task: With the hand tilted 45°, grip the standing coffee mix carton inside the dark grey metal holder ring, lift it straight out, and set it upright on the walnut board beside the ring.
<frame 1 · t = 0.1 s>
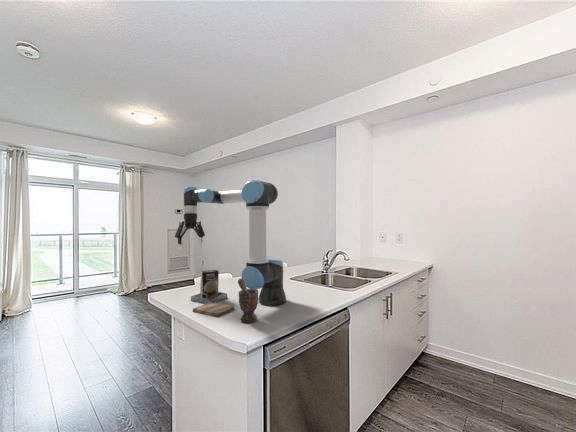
hand: (190, 248, 160), 28 cm above the table, tool pointing down, fingers open, 13 cm apart
coffee box: (209, 299, 152), resting in holder ring
walnut board: (213, 310, 133), on the table
mortar and pestle: (247, 322, 118), on the table
holder ring: (209, 299, 152), on the table
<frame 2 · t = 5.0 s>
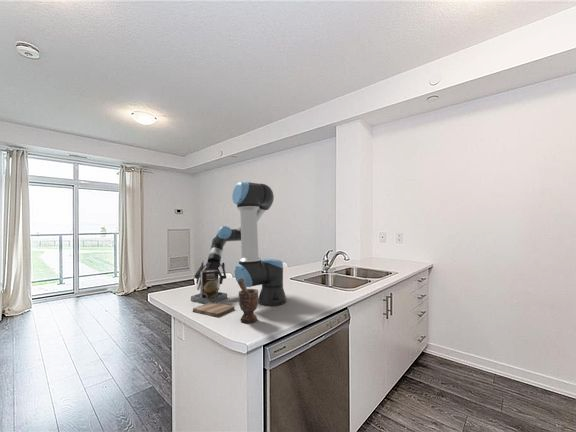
hand: (207, 288, 150), 7 cm above the table, tool tilted 45°, fingers closed on coffee box, 10 cm apart
coffee box: (209, 299, 152), resting in holder ring, touching gripper
everything else where it was.
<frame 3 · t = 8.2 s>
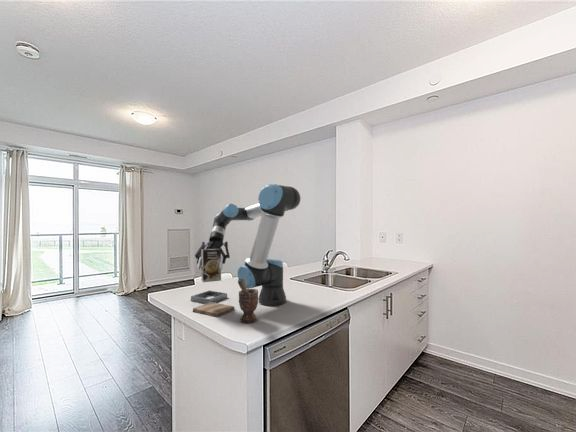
hand: (209, 268, 135), 20 cm above the table, tool tilted 45°, fingers closed on coffee box, 10 cm apart
coffee box: (211, 280, 138), point 14 cm above the table, touching gripper
everything else where it was.
when the fingers open (10 cm above the table, at t = 11.6 s): coffee box drops 1 cm, resting on walnut board.
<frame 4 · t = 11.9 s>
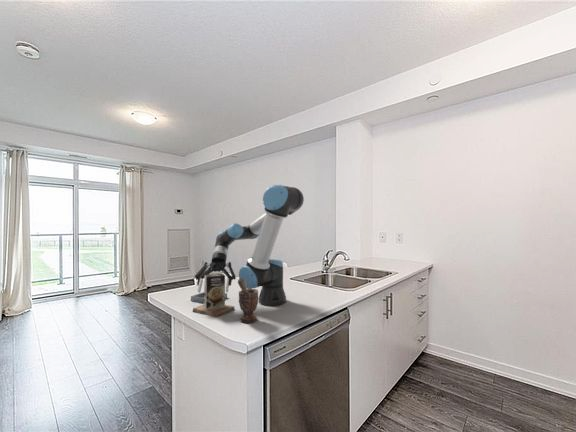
hand: (212, 291, 131), 10 cm above the table, tool tilted 45°, fingers open, 13 cm apart
coffee box: (214, 307, 133), point 1 cm above the table, touching walnut board
everything else where it was.
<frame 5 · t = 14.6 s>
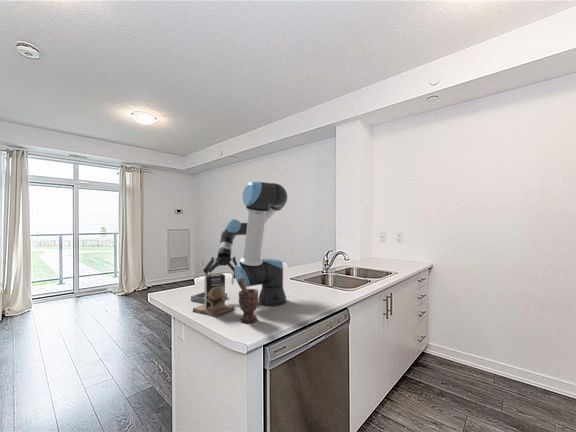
hand: (219, 283, 146), 11 cm above the table, tool tilted 40°, fingers open, 13 cm apart
nothing on the table moved.
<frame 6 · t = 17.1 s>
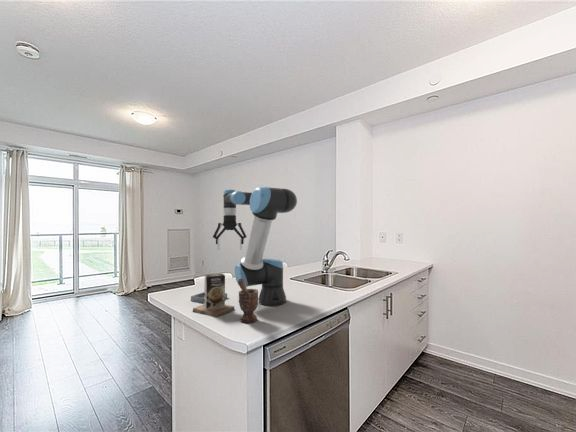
hand: (229, 249, 165), 27 cm above the table, tool pointing down, fingers open, 13 cm apart
nothing on the table moved.
at the end: coffee box inside the target area on the walnut board (0.4 cm from its centre), point 1.3 cm above the walnut board's base; coffee box tilted 0°; the gripper is holding nothing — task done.
